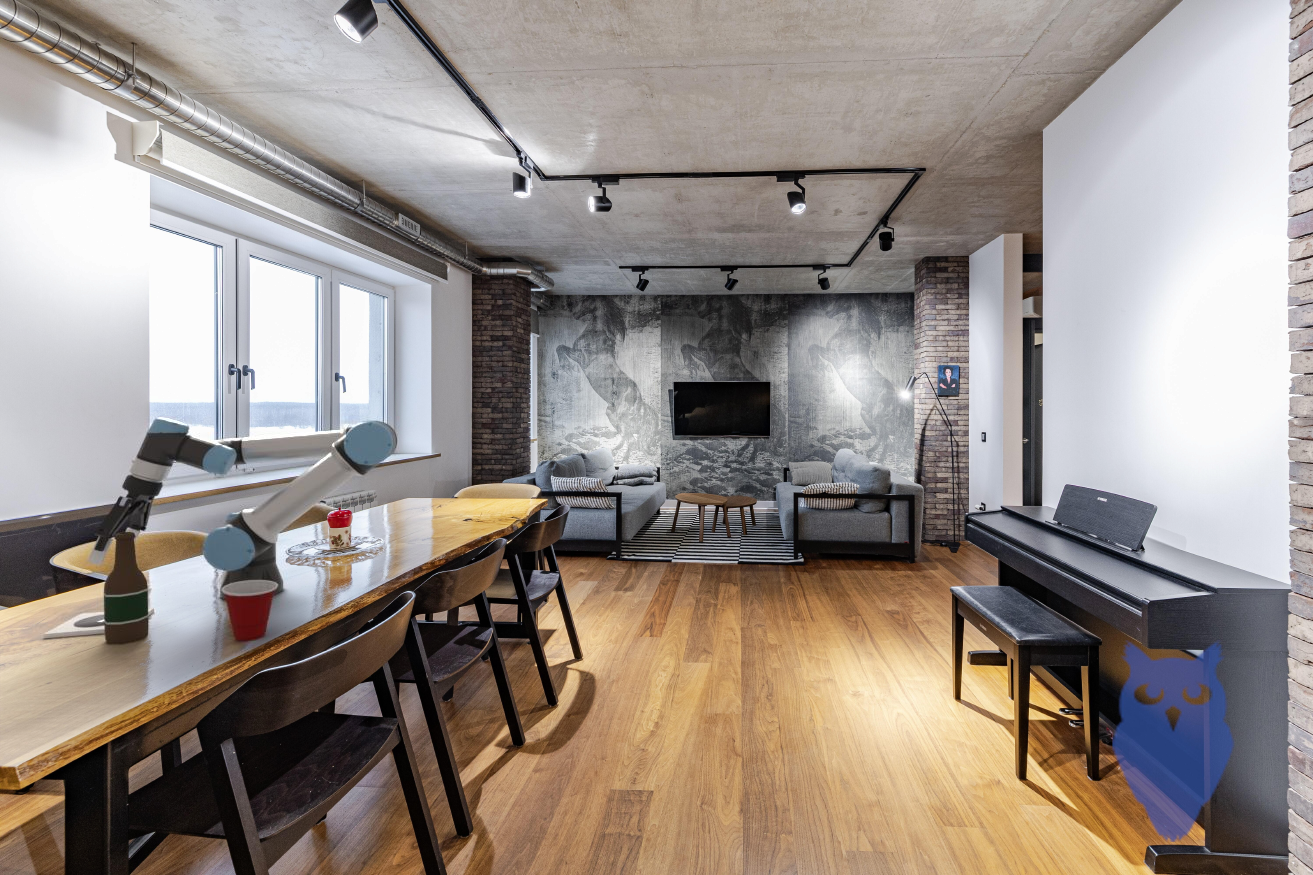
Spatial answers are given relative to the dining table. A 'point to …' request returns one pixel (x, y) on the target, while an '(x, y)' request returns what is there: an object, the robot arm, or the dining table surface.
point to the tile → (82, 625)
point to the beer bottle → (125, 595)
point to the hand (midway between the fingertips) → (108, 558)
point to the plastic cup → (249, 607)
